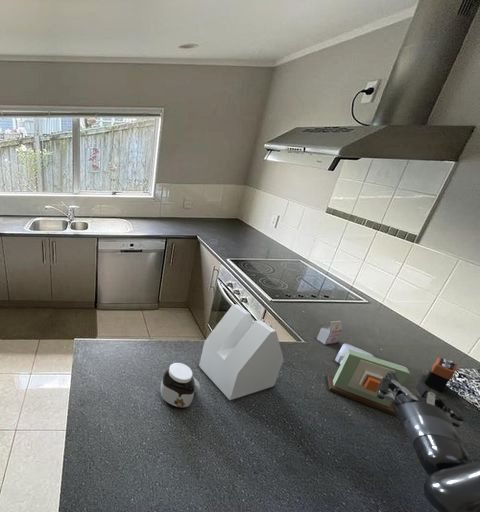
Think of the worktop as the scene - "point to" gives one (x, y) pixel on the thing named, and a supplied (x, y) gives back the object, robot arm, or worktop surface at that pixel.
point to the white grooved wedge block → (241, 354)
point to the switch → (372, 384)
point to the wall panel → (364, 378)
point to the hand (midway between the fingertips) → (404, 379)
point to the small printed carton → (330, 332)
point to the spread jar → (178, 386)
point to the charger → (344, 350)
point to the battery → (440, 374)
